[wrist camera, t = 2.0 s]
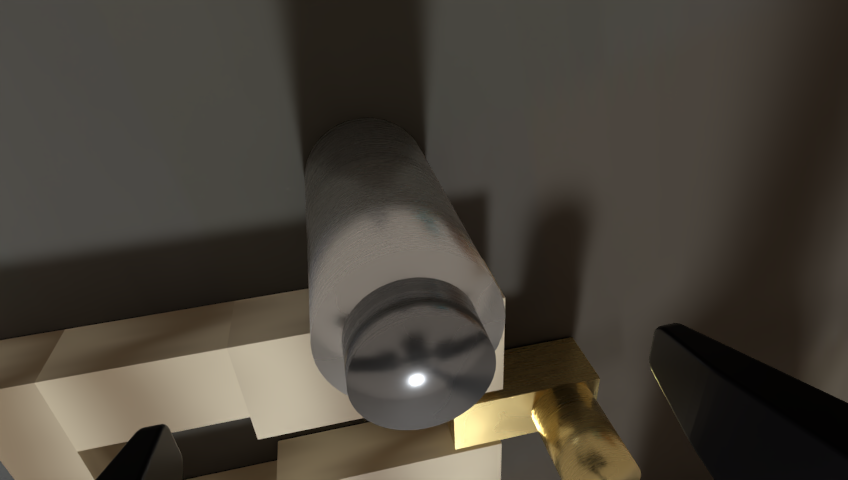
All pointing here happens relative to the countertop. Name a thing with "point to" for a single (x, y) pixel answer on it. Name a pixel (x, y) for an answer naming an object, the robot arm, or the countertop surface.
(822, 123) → the countertop surface
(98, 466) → the dock
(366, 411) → the cylinder
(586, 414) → the pin
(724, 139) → the countertop surface
